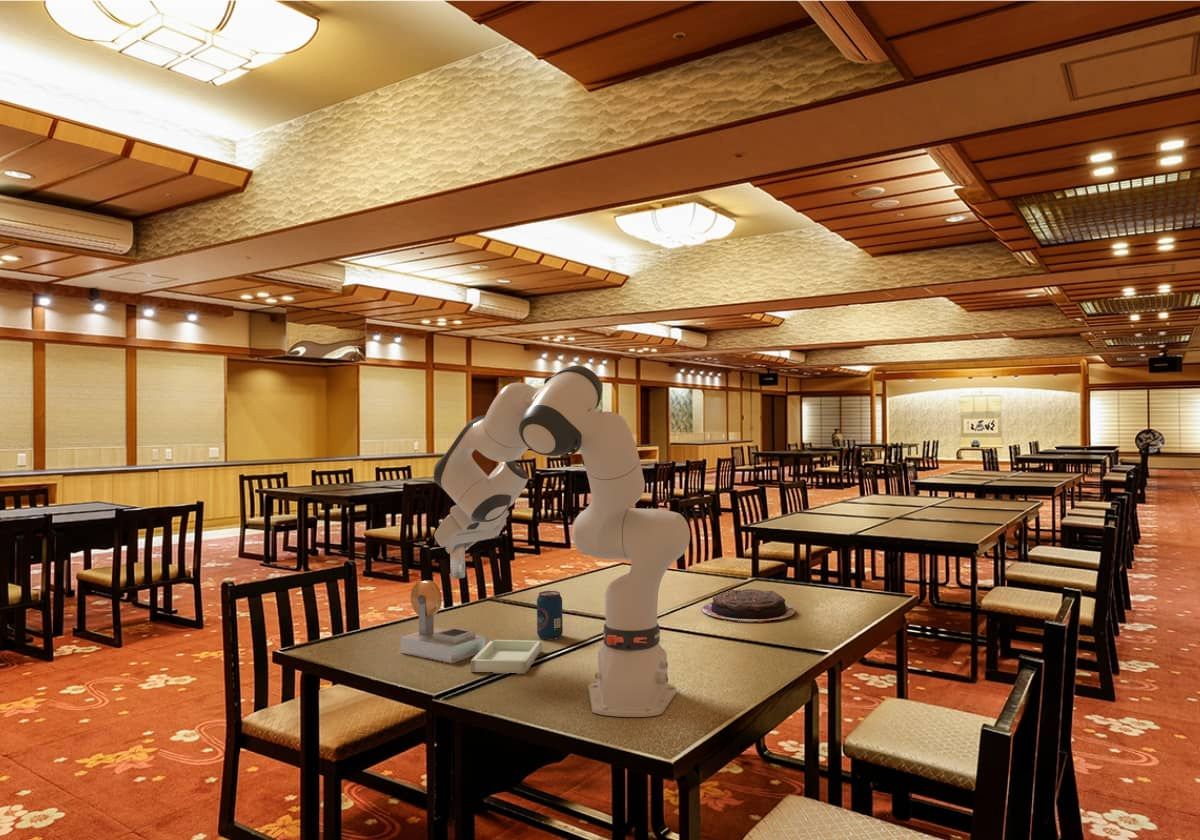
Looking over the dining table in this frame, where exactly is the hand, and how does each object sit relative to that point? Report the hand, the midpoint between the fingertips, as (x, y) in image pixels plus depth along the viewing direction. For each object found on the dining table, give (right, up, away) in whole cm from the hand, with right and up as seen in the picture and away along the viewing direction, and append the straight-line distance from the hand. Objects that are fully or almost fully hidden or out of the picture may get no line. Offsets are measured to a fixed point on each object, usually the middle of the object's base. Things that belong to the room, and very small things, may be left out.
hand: (455, 549), depth 196 cm
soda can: (+23, -26, +14) cm, 38 cm away
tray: (+14, -26, -8) cm, 30 cm away
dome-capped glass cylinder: (+1, -7, 0) cm, 7 cm away
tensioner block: (-4, -26, +2) cm, 27 cm away
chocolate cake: (+82, -26, +40) cm, 95 cm away
